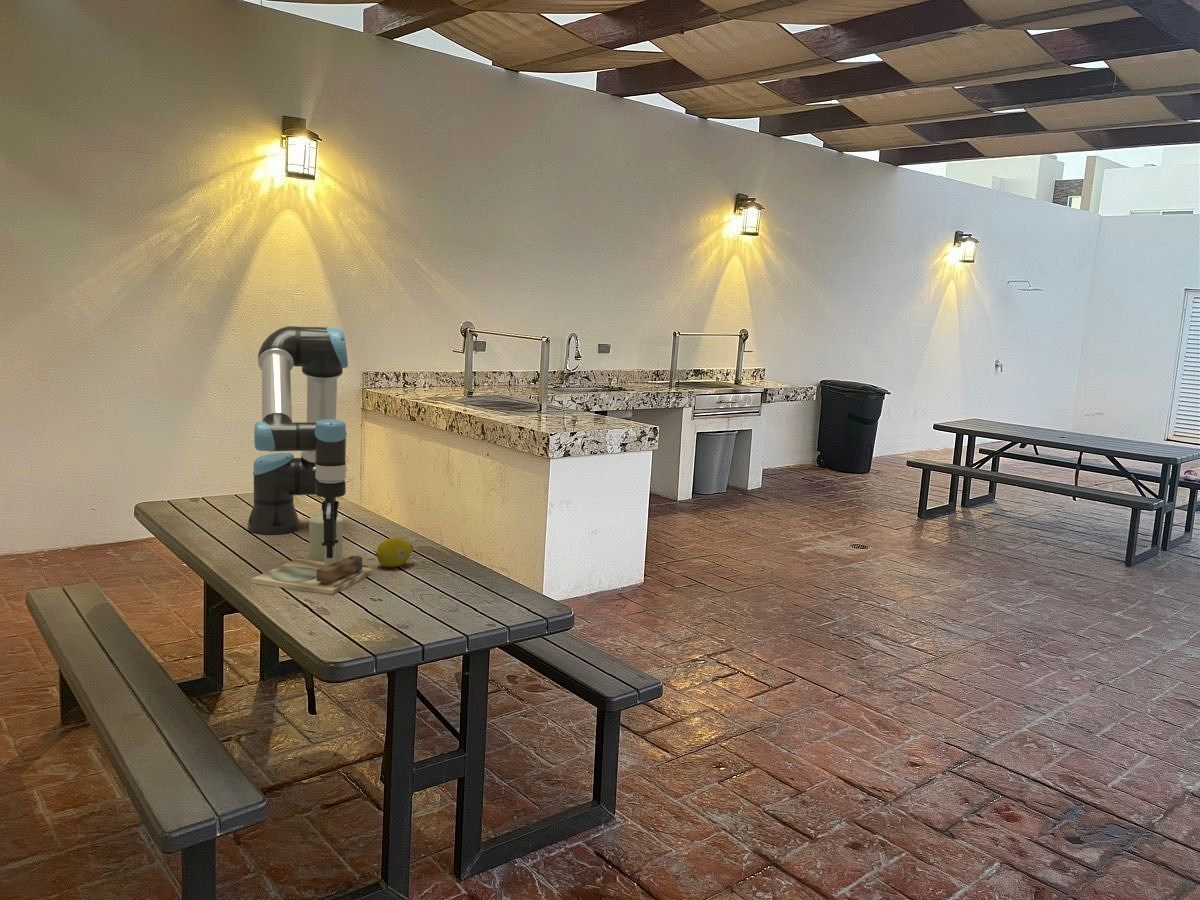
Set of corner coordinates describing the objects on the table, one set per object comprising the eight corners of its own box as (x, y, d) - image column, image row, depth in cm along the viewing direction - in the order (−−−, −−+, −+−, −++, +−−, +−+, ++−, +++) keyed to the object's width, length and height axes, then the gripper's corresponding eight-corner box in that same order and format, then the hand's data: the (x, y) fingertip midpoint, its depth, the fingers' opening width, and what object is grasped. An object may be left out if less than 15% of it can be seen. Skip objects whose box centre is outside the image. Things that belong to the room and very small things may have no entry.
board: (297, 562, 252) (297, 557, 251) (372, 573, 246) (373, 567, 246) (251, 583, 233) (251, 576, 232) (332, 595, 227) (332, 588, 227)
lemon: (378, 572, 247) (378, 543, 246) (370, 564, 254) (371, 536, 252) (417, 568, 252) (418, 540, 251) (408, 560, 259) (409, 533, 258)
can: (333, 565, 251) (333, 523, 249) (302, 562, 253) (302, 519, 251) (348, 556, 260) (349, 515, 258) (319, 553, 262) (319, 512, 260)
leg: (353, 565, 245) (354, 555, 244) (365, 568, 243) (365, 557, 243) (315, 580, 231) (315, 569, 230) (327, 583, 229) (327, 571, 229)
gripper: (317, 474, 241) (317, 561, 245) (312, 485, 229) (312, 576, 233) (347, 475, 243) (346, 561, 247) (343, 485, 230) (342, 576, 234)
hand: (329, 568), depth 240 cm, fingers closed
